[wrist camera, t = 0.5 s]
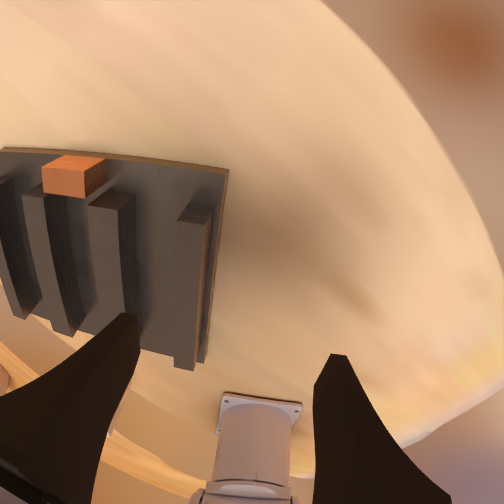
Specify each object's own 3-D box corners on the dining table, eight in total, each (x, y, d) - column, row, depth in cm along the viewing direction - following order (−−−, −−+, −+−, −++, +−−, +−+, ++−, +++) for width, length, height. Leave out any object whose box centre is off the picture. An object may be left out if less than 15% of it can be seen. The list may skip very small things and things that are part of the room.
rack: (206, 354, 26) (197, 387, 23) (35, 306, 26) (16, 329, 23) (228, 169, 18) (217, 190, 15) (3, 147, 18) (-27, 162, 15)
